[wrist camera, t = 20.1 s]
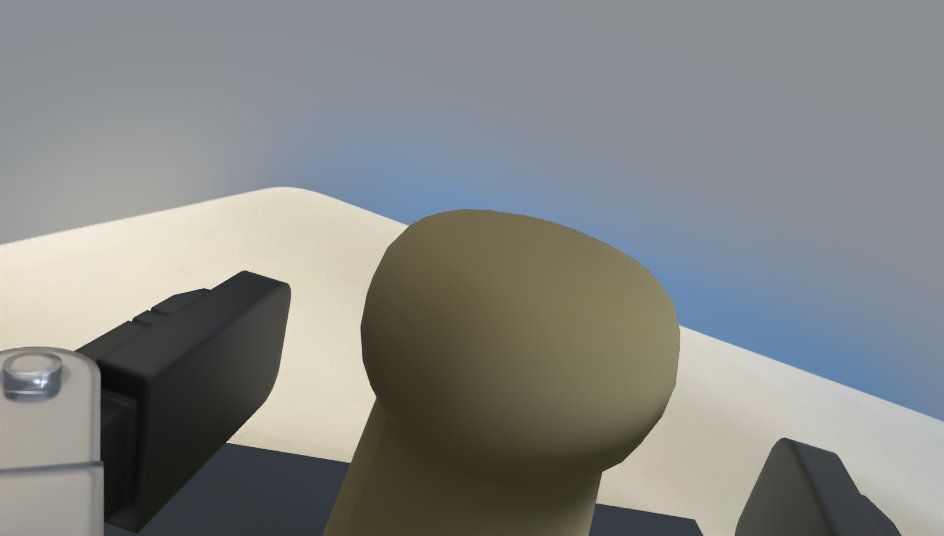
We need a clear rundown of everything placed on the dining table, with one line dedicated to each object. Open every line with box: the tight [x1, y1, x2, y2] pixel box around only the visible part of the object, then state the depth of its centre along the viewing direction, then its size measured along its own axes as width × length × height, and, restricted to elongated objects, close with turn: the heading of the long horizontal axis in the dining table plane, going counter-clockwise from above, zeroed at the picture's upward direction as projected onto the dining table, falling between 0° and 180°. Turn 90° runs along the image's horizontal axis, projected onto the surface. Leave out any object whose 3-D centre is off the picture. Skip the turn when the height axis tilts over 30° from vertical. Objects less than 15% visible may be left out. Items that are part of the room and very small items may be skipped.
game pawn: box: [322, 209, 680, 536], centre depth 13 cm, size 6×6×11 cm
